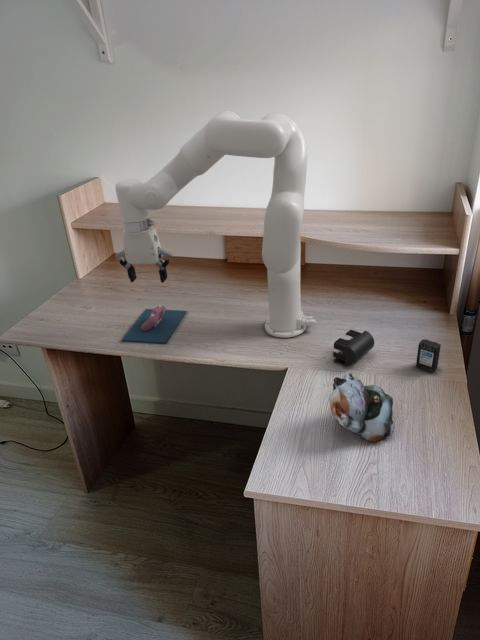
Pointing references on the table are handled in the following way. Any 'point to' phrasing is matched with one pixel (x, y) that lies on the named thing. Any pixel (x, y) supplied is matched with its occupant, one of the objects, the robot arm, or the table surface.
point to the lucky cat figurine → (362, 408)
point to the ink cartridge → (428, 355)
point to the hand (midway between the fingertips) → (148, 280)
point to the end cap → (352, 347)
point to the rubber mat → (159, 332)
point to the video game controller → (153, 318)
